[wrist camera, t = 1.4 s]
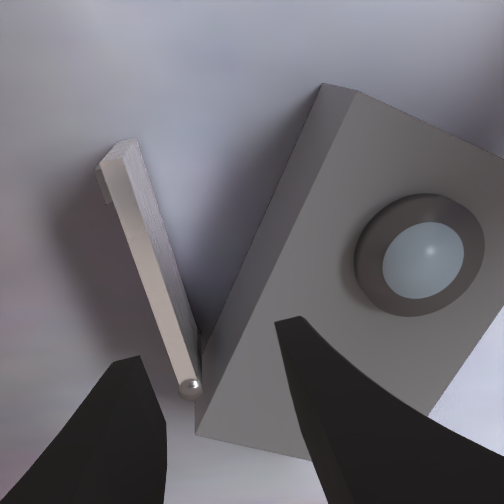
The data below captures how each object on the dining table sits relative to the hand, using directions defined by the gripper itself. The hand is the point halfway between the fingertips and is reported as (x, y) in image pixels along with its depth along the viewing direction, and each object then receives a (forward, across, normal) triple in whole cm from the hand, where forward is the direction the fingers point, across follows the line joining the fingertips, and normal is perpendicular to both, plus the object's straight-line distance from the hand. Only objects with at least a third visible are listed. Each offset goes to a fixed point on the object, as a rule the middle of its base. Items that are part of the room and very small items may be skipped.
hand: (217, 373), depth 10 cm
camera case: (+9, -5, +4) cm, 11 cm away
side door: (+9, +2, 0) cm, 9 cm away
